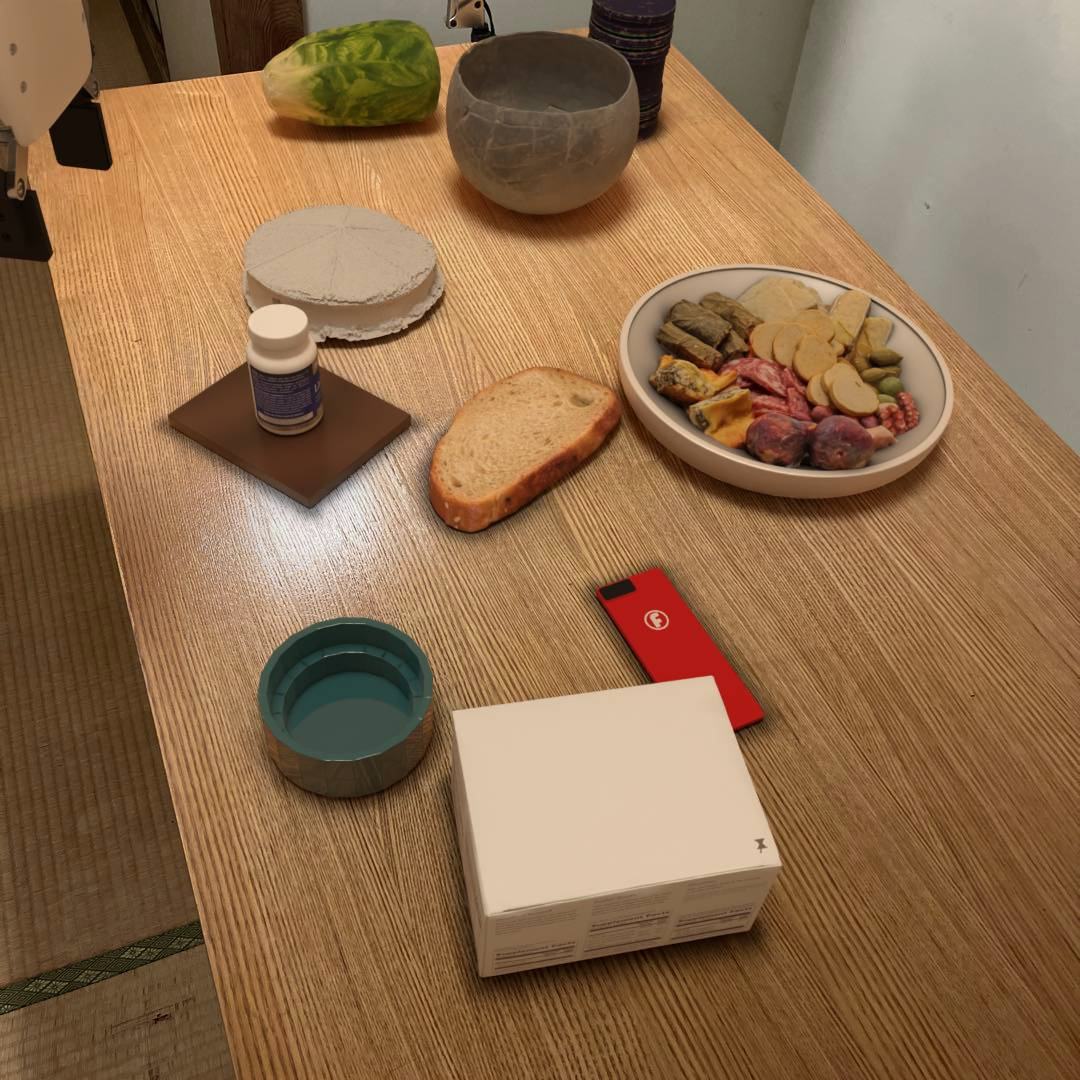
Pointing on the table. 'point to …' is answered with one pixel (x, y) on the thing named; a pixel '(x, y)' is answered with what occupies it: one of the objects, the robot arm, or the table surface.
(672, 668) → the electronic device
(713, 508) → the table surface
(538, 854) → the supplement box
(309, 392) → the pill bottle
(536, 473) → the bread slice
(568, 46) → the bowl
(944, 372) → the bowl
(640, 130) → the dark purple ridged cylinder
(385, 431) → the walnut board
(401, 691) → the teal bowl
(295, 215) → the grey pie
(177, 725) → the table surface
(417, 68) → the lettuce
